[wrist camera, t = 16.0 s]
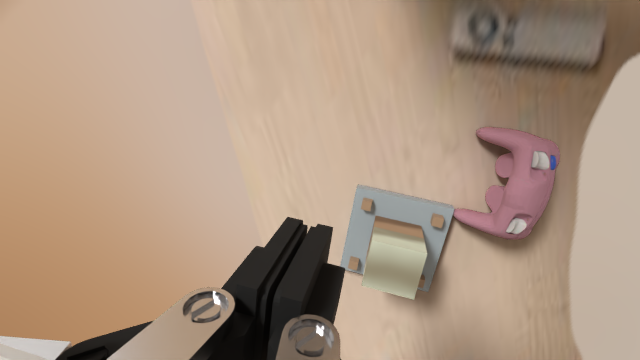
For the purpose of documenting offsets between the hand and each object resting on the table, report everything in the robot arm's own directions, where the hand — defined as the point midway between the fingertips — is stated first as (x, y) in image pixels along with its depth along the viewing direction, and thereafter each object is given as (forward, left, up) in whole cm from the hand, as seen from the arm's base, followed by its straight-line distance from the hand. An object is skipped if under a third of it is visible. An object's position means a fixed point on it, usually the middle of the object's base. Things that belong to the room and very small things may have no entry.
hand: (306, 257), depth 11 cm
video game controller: (0, +13, -23) cm, 27 cm away
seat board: (+9, +5, -23) cm, 25 cm away
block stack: (+9, +5, -22) cm, 24 cm away
